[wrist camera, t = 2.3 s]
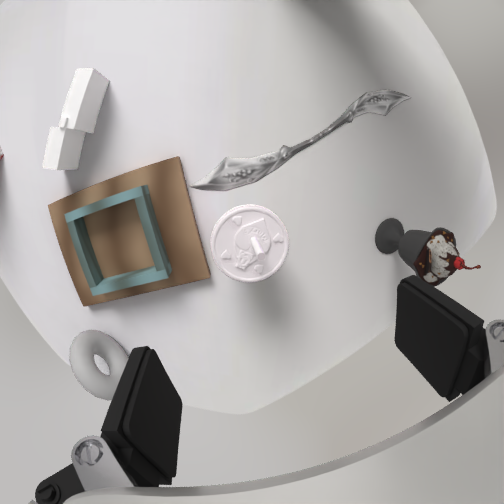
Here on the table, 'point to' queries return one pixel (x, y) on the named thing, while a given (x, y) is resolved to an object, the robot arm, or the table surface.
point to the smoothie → (249, 243)
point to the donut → (87, 369)
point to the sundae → (422, 250)
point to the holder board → (130, 234)
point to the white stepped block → (75, 120)
